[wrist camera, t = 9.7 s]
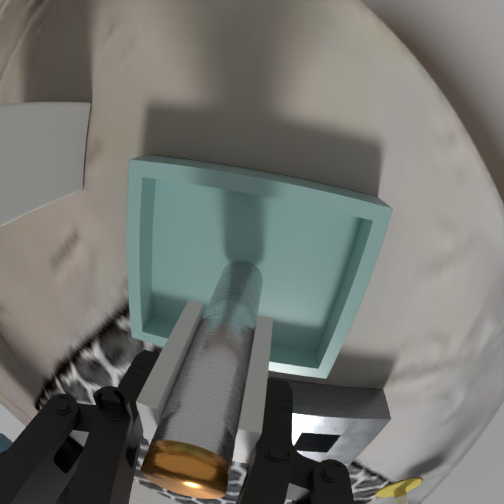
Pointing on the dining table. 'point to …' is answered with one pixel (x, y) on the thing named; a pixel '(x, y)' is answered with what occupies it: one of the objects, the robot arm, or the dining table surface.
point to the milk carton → (40, 154)
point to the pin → (208, 392)
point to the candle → (399, 490)
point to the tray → (250, 251)
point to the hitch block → (335, 420)
